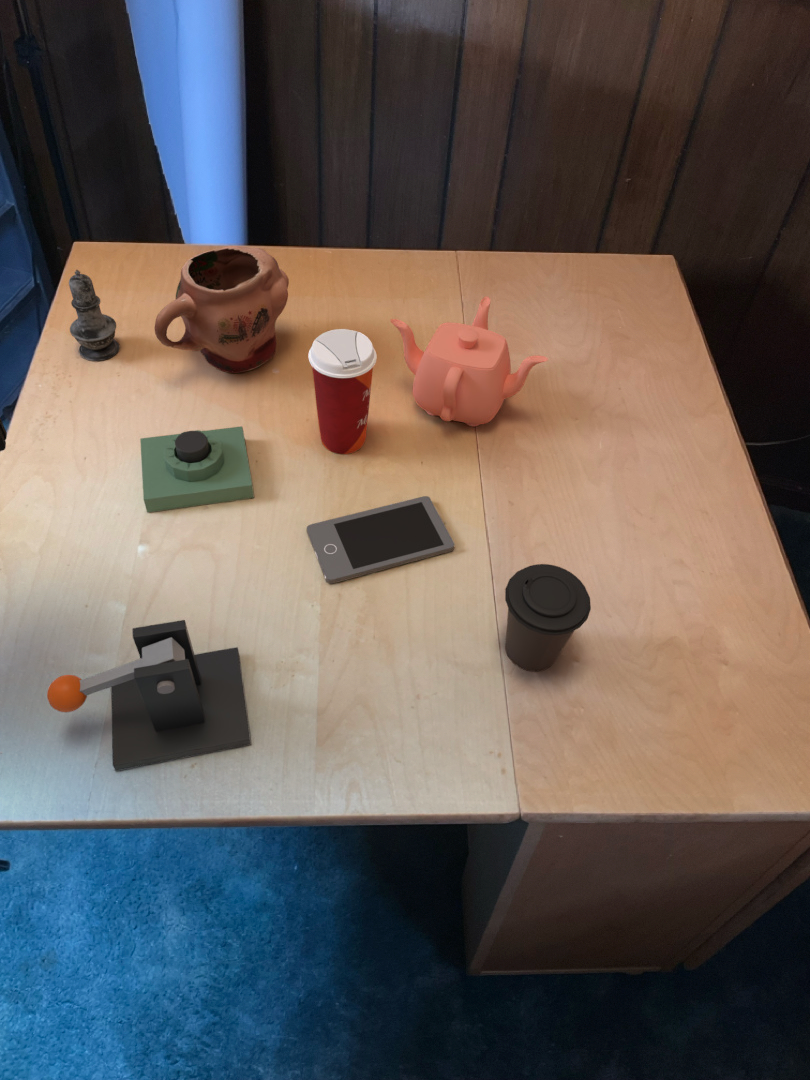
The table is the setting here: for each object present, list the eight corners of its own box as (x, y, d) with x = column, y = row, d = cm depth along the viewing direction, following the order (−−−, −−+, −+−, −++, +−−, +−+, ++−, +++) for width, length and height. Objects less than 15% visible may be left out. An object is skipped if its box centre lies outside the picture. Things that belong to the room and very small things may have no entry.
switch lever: (60, 723, 70) (38, 708, 67) (61, 691, 72) (39, 675, 69) (189, 678, 69) (171, 661, 67) (186, 646, 71) (169, 629, 69)
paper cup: (382, 452, 99) (387, 360, 89) (323, 466, 97) (320, 374, 86) (361, 411, 104) (362, 319, 93) (304, 424, 102) (298, 332, 91)
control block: (147, 512, 91) (140, 488, 88) (143, 451, 97) (137, 426, 94) (254, 498, 93) (250, 473, 90) (244, 439, 99) (240, 414, 96)
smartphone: (428, 498, 95) (428, 494, 94) (456, 549, 90) (456, 545, 89) (305, 528, 91) (305, 524, 90) (327, 584, 86) (327, 580, 85)
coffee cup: (486, 616, 85) (500, 557, 77) (562, 614, 85) (583, 556, 78) (497, 685, 79) (514, 629, 72) (578, 682, 80) (602, 626, 72)
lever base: (115, 771, 72) (85, 714, 63) (113, 674, 78) (85, 611, 69) (251, 744, 74) (239, 686, 66) (238, 653, 80) (226, 589, 72)
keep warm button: (178, 465, 91) (175, 454, 90) (176, 443, 93) (173, 432, 92) (210, 461, 92) (208, 450, 90) (207, 439, 94) (205, 428, 93)
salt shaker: (109, 330, 112) (88, 251, 102) (129, 352, 109) (109, 273, 100) (69, 345, 109) (43, 266, 100) (88, 368, 106) (64, 288, 97)
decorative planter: (205, 416, 102) (189, 323, 91) (142, 374, 106) (119, 280, 95) (314, 344, 112) (310, 253, 101) (251, 308, 117) (242, 218, 106)
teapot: (386, 384, 108) (389, 314, 99) (478, 358, 112) (488, 289, 104) (437, 454, 100) (445, 384, 91) (534, 423, 104) (550, 354, 96)
